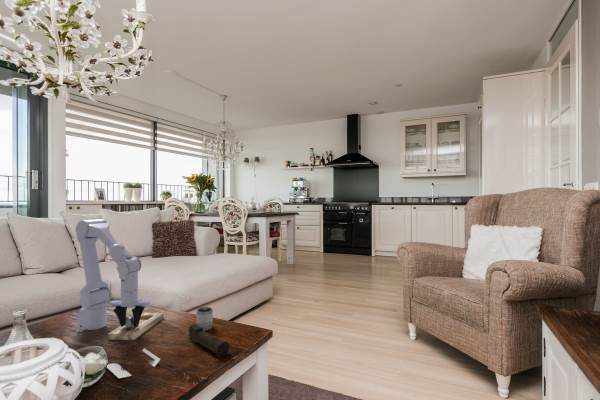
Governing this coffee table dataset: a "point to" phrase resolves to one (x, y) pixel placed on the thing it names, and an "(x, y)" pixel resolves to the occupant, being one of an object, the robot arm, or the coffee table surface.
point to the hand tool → (208, 340)
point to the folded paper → (121, 371)
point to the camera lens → (205, 318)
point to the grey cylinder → (129, 323)
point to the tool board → (144, 324)
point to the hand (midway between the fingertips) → (129, 325)
